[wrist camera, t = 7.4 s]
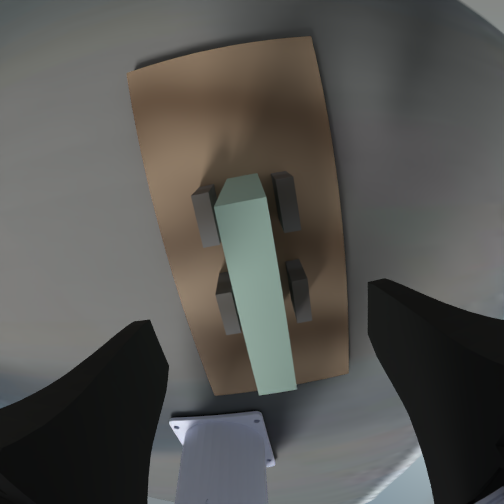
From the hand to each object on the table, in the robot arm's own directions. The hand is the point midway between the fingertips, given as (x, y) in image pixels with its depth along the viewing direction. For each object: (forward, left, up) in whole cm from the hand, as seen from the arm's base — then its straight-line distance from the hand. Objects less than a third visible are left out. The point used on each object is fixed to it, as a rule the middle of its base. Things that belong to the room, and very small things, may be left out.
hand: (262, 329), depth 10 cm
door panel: (0, 0, -8) cm, 8 cm away
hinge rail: (0, 0, -9) cm, 9 cm away
